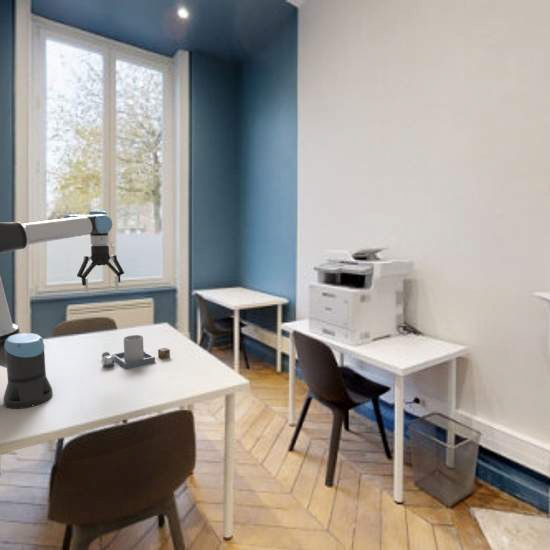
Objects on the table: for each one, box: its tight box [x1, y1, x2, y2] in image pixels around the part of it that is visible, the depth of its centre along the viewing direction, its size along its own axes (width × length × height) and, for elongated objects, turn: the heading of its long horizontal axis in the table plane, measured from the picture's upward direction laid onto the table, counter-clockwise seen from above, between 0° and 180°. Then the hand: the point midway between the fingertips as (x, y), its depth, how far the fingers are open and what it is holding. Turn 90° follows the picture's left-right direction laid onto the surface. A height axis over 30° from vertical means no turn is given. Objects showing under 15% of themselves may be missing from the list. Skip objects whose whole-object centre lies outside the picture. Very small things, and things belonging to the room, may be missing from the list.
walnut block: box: [157, 347, 171, 360], centre depth 188 cm, size 4×4×4 cm
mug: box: [123, 334, 145, 363], centre depth 183 cm, size 12×8×11 cm
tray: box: [111, 350, 156, 370], centre depth 183 cm, size 14×17×2 cm
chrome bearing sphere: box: [101, 354, 115, 369], centre depth 177 cm, size 5×5×4 cm
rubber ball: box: [101, 351, 111, 358], centre depth 185 cm, size 4×4×4 cm
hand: (102, 290), depth 181 cm, fingers open, 13 cm apart
